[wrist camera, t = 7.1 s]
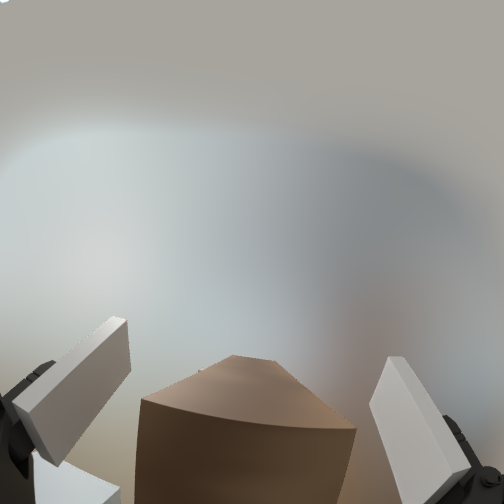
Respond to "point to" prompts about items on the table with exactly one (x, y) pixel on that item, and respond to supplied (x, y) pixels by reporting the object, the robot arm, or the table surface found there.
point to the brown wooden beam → (240, 439)
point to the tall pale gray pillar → (70, 485)
